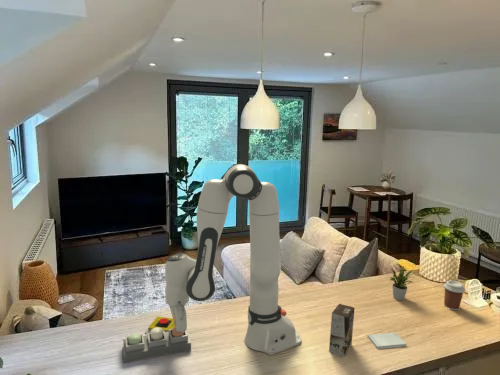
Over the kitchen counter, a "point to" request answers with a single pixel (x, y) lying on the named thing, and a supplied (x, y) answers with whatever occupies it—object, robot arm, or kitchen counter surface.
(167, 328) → the emergency button
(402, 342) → the hard drive
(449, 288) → the coffee cup
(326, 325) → the kitchen counter surface
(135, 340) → the pale green egg
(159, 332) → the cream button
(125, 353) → the panel
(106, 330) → the kitchen counter surface
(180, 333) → the brown egg
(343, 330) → the coffee box
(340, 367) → the kitchen counter surface
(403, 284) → the house plant
